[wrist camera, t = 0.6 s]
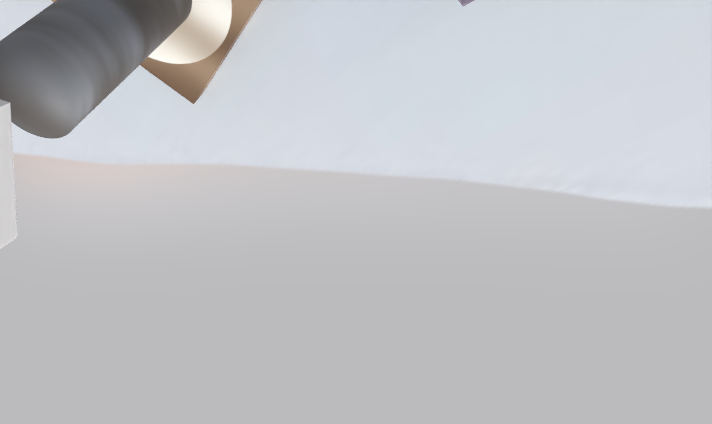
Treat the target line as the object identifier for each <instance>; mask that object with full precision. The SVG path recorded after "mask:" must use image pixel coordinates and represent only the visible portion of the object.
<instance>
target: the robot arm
mask: <svg viewBox="0 0 712 424" xmlns="http://www.w3.org/2000/svg"><path fill="white" fill-rule="evenodd" d="M16 238H17V222H16V203H15V184H14V168H13V146H12V127H11V108H10V102H7V101H4V100H1V99H0V249H1V248H2V247H4V246H5V245H7V244H8V243H10V242H11V241H13V240H14V239H16Z"/></svg>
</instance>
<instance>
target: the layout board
mask: <svg viewBox="0 0 712 424" xmlns="http://www.w3.org/2000/svg"><path fill="white" fill-rule="evenodd" d="M52 1H53V2H54V3H53V4H51V5H50V6H49V7H47V8H46V9H44V10H43V11H42V12H40V13H39V14H37V15H36V16H35V17H33V18H32V19H30V20H29V21H28V22H26V23H25V24H23V25H22V26H21V27H19V28H18V29H16V30H15V31H14V32H12V33H11V34H9V35H8V36H7V37H5V38H4V39H2V40H1V41H0V99H1V100H4V101H7V102H10V108H11V122H13V123H14V124H15V125H17V126H18V127H20V128H21V129H23V130H25V131H27V132H29V133H31V134H34V135H37V136H40V137H44V138H60V137H63V136H65V135H67V134H69V133H70V132H71V131H72V130H73V129H74V128H75V127H76V126H77V125H78V124H79V123H80V122H81V121H82V120H83V119H84V118H85V117H86V116H87V115H88V114H89V113H90V112H91V111H92V110H93V109H94V108H95V107H96V106H98V105H99V104H100V103H101V102H102V101H103V100H104V99H105V98H106V97H107V96H108V95H109V94H110V93H111V92H112V91H113V90H114V89H115V88H116V87H117V86H118V85H119V84H120V83H121V82H122V81H123V80H124V79H125V78H126V77H127V76H128V75H130V74H131V73H132V72H133V71H134V70H135V69H136V68H137V67H138V66H139V65H141V66H142V67H143V68H145V69H146V70H148V71H149V72H150V73H152V74H153V75H154V76H156V77H157V78H159V79H160V80H161V81H163V82H164V83H165V84H167V85H168V86H169V87H171V88H172V89H174V90H175V91H176V92H178V93H179V94H180V95H182V96H183V97H185V98H186V99H187V100H189V101H190V102H191V103H193V104H194V103H195V102H196V101H197V100H198V98H199V97H200V96H201V95H202V93H203V92H204V90H205V89H206V87H207V85H208V84H209V82H210V81H211V79H212V78H213V76H214V75H215V73H216V71H217V70H218V68H219V67H220V65H221V64H222V62H223V61H224V59H225V57H226V56H227V54H228V53H229V51H230V50H231V48H232V46H233V45H234V43H235V42H236V40H237V39H238V37H239V36H240V34H241V32H242V31H243V29H244V28H245V26H246V25H247V23H248V22H249V20H250V18H251V17H252V15H253V14H254V12H255V11H256V9H257V7H258V6H259V4H260V3H261V1H262V0H52Z"/></svg>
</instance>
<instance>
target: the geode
mask: <svg viewBox="0 0 712 424" xmlns="http://www.w3.org/2000/svg"><path fill="white" fill-rule="evenodd" d="M472 1H474V0H459V2H460V3H461V4H462V6H465V5H467V4H468V3H470V2H472Z"/></svg>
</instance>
